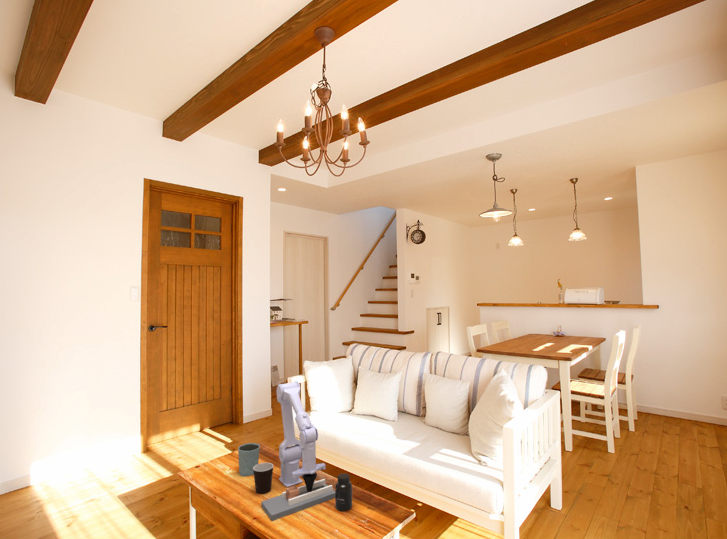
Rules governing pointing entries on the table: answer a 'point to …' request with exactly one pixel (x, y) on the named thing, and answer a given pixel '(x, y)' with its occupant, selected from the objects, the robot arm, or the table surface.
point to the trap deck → (280, 506)
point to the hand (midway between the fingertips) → (309, 491)
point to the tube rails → (310, 494)
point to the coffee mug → (263, 477)
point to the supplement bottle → (343, 493)
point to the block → (292, 492)
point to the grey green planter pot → (248, 458)
